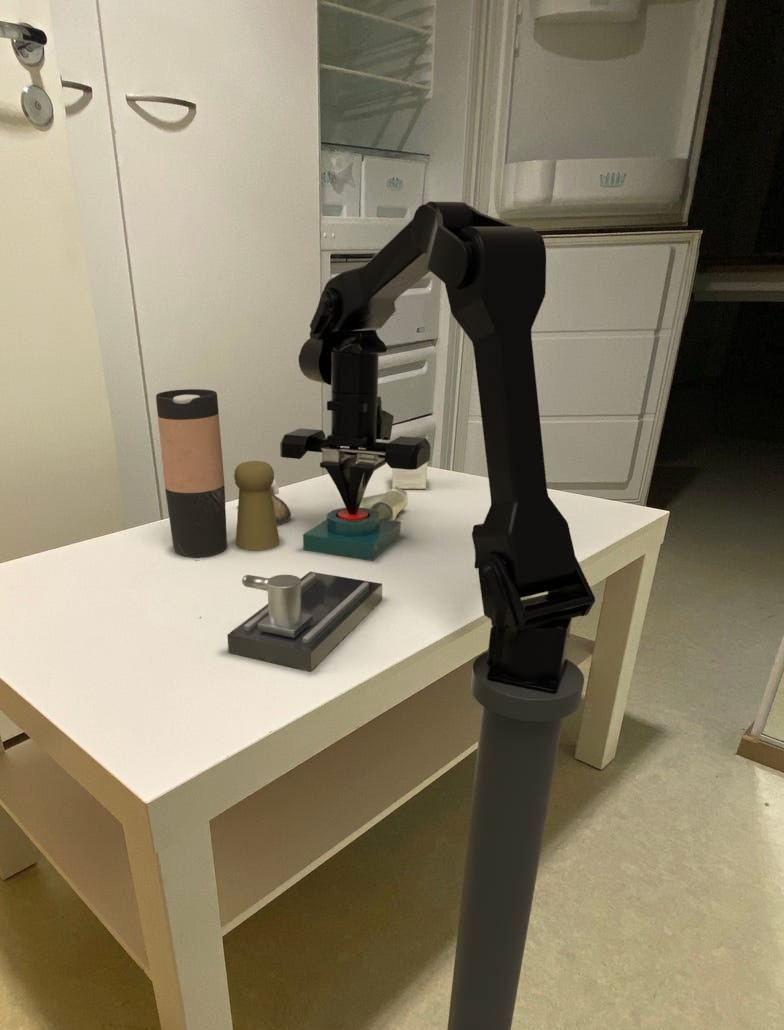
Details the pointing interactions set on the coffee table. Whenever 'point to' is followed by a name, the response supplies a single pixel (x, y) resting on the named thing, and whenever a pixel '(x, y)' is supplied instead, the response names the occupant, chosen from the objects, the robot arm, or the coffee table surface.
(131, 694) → the coffee table surface
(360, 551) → the button block
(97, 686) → the coffee table surface
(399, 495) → the pipe fitting
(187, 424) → the travel mug
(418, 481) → the small box
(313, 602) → the slide rail base
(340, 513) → the button
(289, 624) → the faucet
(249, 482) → the brown tapered upright piece
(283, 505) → the eagle figurine
